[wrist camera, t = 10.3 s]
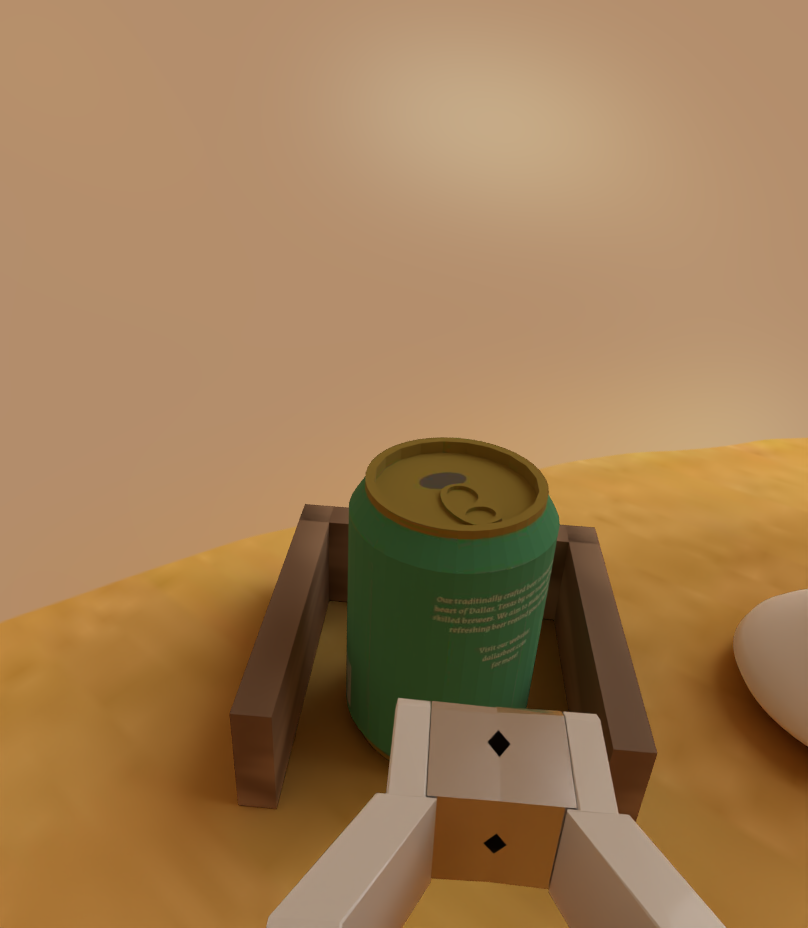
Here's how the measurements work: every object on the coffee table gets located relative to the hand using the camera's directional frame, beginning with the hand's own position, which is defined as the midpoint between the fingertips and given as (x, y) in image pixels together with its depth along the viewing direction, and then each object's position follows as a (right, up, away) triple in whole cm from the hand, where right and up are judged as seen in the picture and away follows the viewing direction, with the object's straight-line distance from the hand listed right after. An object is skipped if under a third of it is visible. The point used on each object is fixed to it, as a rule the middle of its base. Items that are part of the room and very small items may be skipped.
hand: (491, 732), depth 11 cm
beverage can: (0, -7, +22) cm, 23 cm away
